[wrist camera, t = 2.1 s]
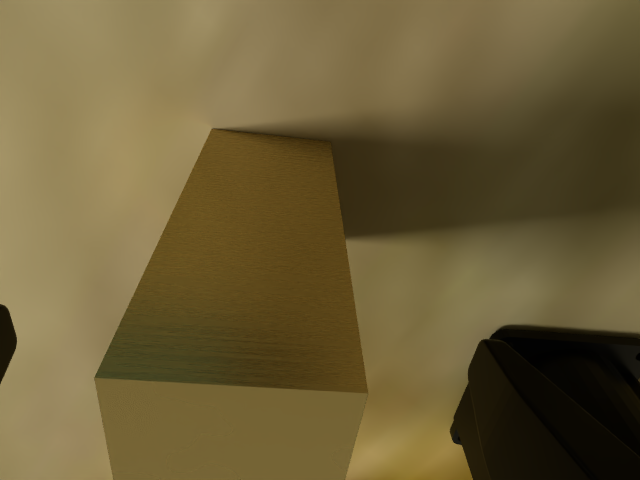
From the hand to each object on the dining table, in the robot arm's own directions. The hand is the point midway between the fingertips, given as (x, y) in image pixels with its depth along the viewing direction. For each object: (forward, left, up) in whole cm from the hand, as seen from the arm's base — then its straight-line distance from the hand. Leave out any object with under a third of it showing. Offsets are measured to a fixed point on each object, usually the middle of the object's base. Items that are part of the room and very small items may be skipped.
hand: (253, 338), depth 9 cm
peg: (0, 0, -6) cm, 6 cm away
